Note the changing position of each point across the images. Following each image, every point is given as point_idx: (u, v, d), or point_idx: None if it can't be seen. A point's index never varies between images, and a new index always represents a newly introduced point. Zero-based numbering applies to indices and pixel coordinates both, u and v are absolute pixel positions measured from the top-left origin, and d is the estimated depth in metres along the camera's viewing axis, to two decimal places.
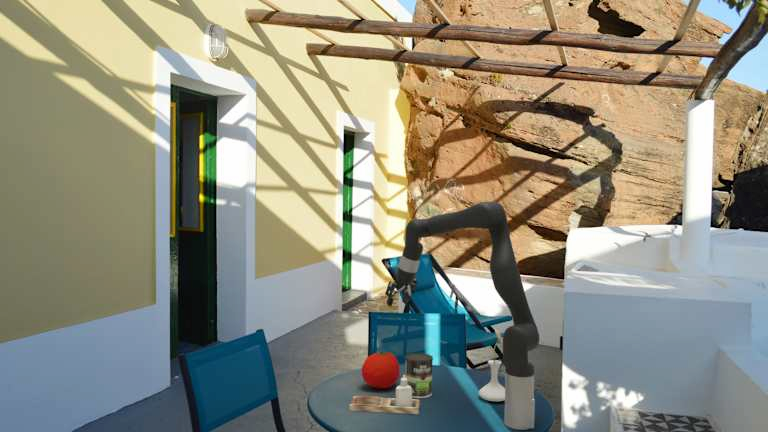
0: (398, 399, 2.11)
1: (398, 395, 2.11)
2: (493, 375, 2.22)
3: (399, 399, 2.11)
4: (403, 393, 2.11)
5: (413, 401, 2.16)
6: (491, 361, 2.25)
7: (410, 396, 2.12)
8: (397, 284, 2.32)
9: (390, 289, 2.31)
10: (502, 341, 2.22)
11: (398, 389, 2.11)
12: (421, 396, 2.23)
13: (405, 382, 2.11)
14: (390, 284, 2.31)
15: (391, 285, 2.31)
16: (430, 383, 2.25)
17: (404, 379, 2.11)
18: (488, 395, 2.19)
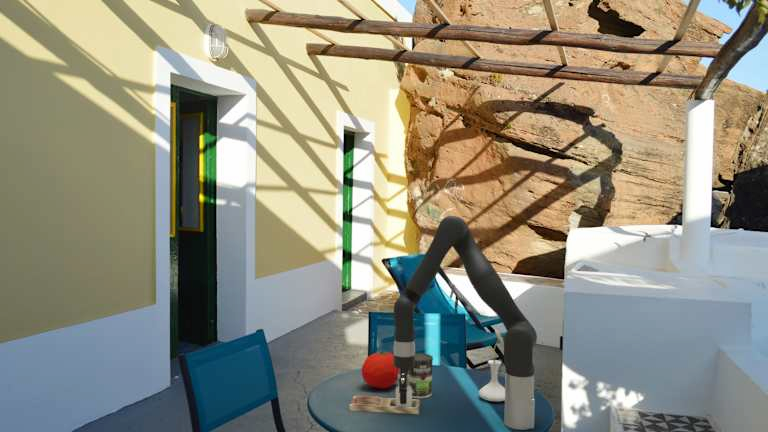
0: (398, 399, 2.11)
1: (398, 395, 2.11)
2: (493, 375, 2.22)
3: (399, 399, 2.11)
4: None
5: (413, 401, 2.16)
6: (491, 361, 2.25)
7: (410, 396, 2.12)
8: (405, 376, 2.08)
9: (404, 386, 2.06)
10: (502, 341, 2.22)
11: (398, 389, 2.11)
12: (421, 396, 2.23)
13: None
14: (402, 382, 2.06)
15: (404, 382, 2.06)
16: (430, 383, 2.25)
17: None
18: (488, 395, 2.19)
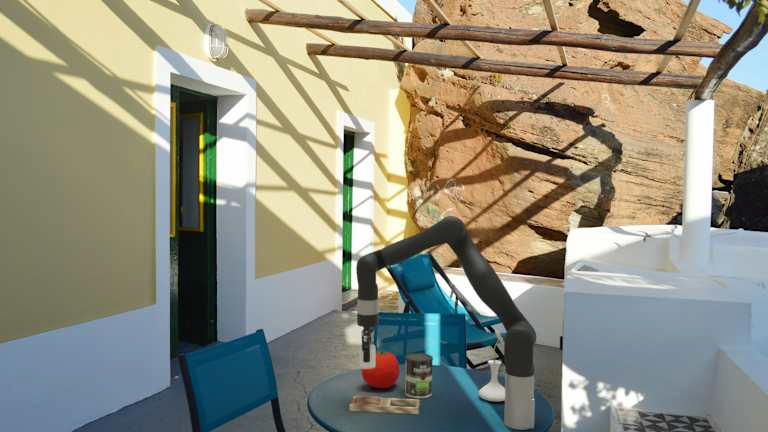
0: (361, 357, 2.11)
1: (362, 353, 2.11)
2: (493, 375, 2.22)
3: None
4: None
5: (413, 401, 2.16)
6: (491, 361, 2.25)
7: (374, 355, 2.12)
8: (368, 334, 2.09)
9: (367, 343, 2.07)
10: (502, 341, 2.22)
11: (361, 347, 2.11)
12: (421, 396, 2.23)
13: None
14: (364, 339, 2.06)
15: (366, 339, 2.06)
16: (430, 383, 2.25)
17: None
18: (488, 395, 2.19)
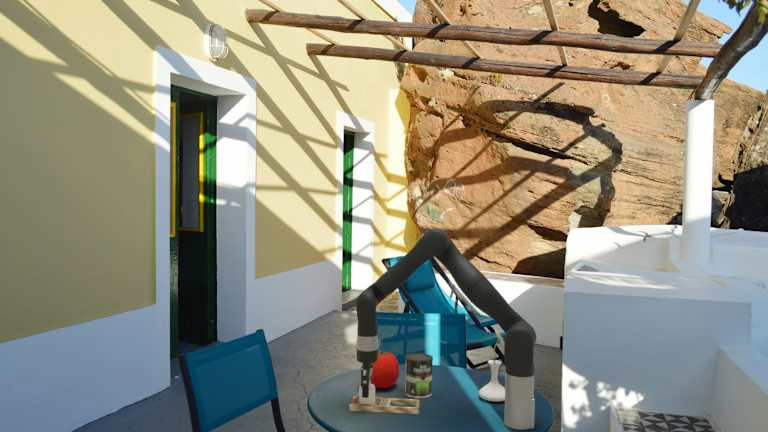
0: (361, 397, 2.12)
1: (361, 393, 2.12)
2: (493, 375, 2.22)
3: (362, 397, 2.12)
4: None
5: (413, 401, 2.16)
6: (491, 361, 2.25)
7: (373, 395, 2.13)
8: (367, 369, 2.09)
9: (366, 378, 2.07)
10: (502, 341, 2.22)
11: (361, 387, 2.12)
12: (421, 396, 2.23)
13: None
14: (364, 373, 2.06)
15: (365, 373, 2.06)
16: (430, 383, 2.25)
17: None
18: (488, 395, 2.19)
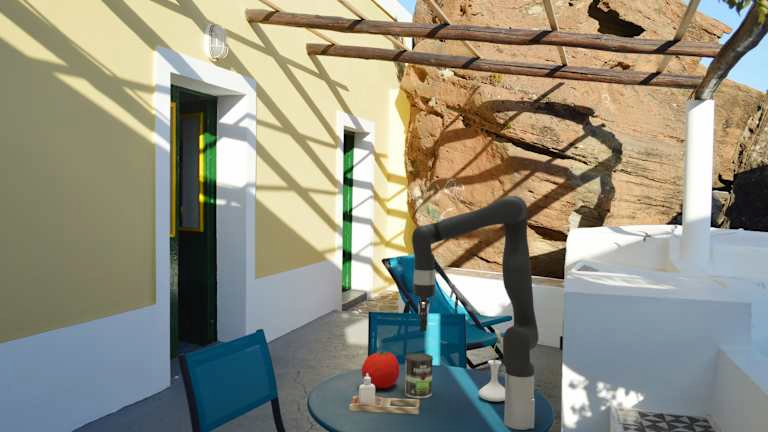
0: (361, 397, 2.12)
1: (361, 393, 2.12)
2: (493, 375, 2.22)
3: (362, 397, 2.12)
4: (366, 391, 2.12)
5: (413, 401, 2.16)
6: (491, 361, 2.25)
7: (373, 395, 2.13)
8: None
9: (425, 310, 2.06)
10: (502, 341, 2.22)
11: (361, 387, 2.12)
12: (421, 396, 2.23)
13: (368, 381, 2.12)
14: (422, 305, 2.06)
15: (424, 305, 2.06)
16: (430, 383, 2.25)
17: (367, 378, 2.12)
18: (488, 395, 2.19)
